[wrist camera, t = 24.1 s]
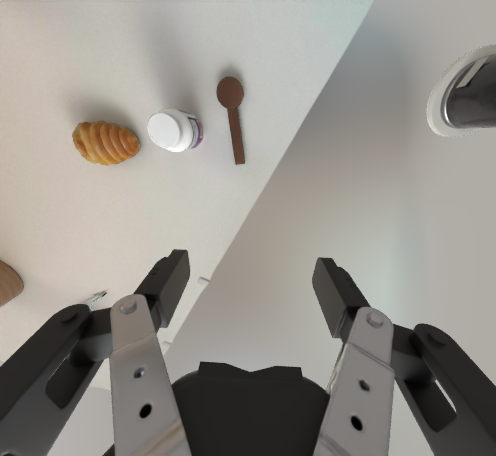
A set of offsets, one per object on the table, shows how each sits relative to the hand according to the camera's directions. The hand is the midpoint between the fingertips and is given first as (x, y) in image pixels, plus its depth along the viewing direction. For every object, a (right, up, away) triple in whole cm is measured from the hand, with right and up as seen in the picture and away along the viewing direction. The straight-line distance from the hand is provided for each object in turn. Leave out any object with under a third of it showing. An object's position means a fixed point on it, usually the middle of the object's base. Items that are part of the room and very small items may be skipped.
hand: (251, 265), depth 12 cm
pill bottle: (-10, +19, +20) cm, 30 cm away
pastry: (-24, +17, +21) cm, 37 cm away
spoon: (-2, +20, +19) cm, 28 cm away
